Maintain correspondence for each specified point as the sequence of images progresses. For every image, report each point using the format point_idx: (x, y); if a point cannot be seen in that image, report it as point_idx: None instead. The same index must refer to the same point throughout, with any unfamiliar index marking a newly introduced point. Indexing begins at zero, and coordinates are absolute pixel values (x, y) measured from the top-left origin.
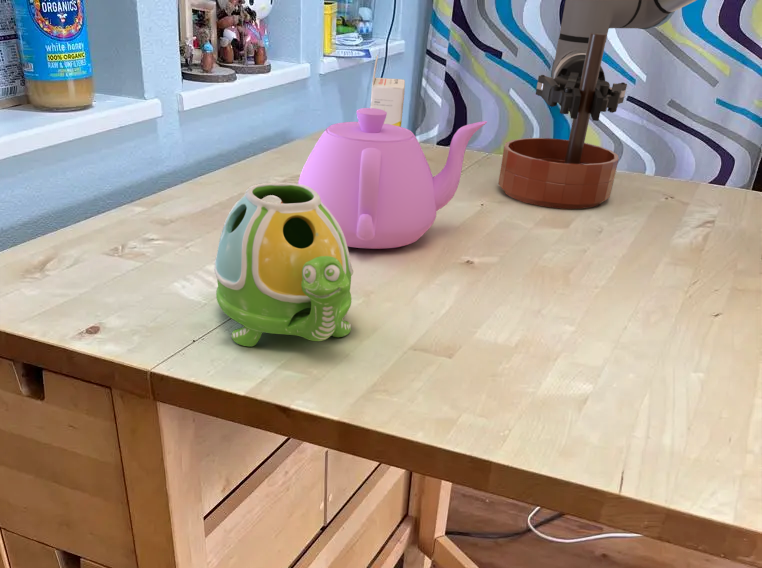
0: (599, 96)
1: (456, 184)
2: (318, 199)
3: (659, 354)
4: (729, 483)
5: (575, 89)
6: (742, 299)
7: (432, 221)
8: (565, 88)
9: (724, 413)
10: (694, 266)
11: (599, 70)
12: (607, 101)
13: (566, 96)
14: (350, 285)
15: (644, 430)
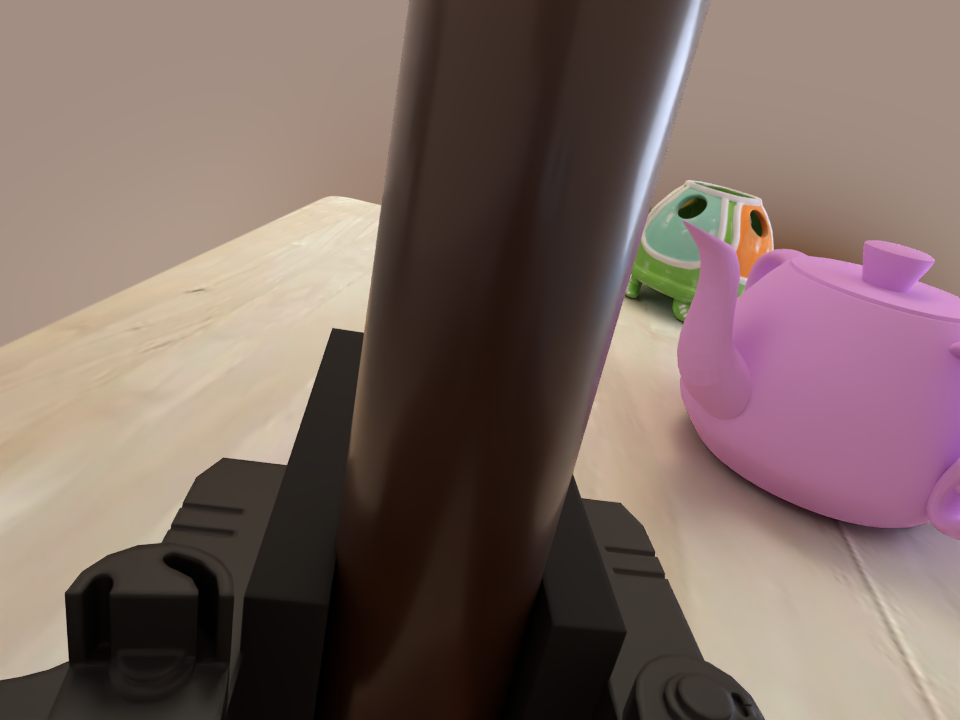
0: (349, 361)
1: (679, 338)
2: (688, 181)
3: (325, 259)
4: (330, 203)
5: (579, 550)
6: (105, 311)
7: (681, 386)
8: (732, 682)
9: (299, 223)
10: (99, 390)
11: (368, 312)
12: (217, 470)
13: (617, 506)
14: (639, 253)
15: (372, 224)
